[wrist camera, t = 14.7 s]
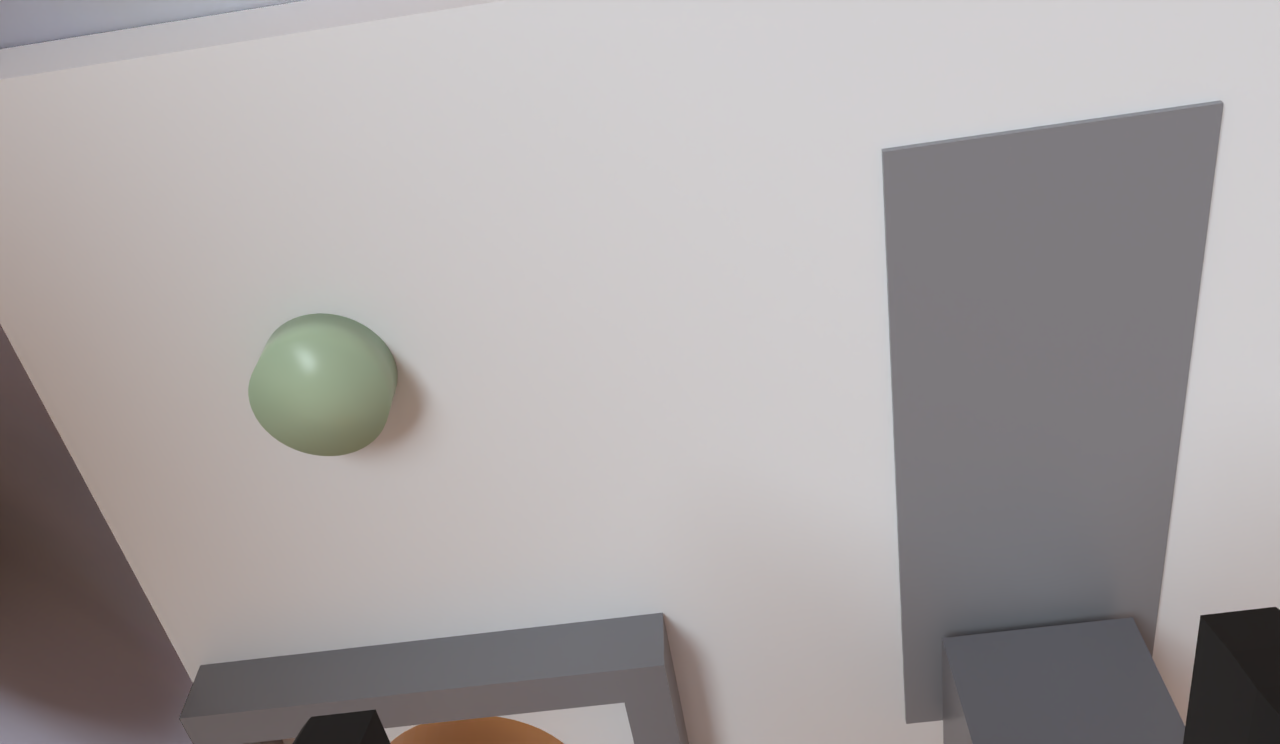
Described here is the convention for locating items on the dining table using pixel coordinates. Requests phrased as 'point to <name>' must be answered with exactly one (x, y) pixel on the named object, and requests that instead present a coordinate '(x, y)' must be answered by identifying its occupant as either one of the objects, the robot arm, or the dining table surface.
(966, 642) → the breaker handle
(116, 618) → the dining table surface
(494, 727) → the cap
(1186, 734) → the robot arm
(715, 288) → the board
